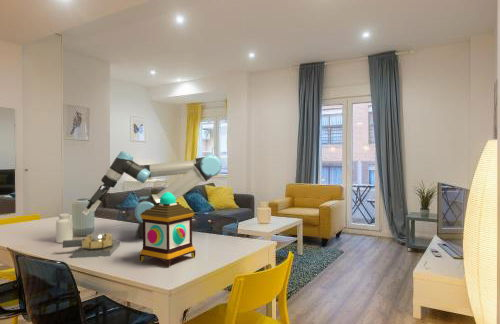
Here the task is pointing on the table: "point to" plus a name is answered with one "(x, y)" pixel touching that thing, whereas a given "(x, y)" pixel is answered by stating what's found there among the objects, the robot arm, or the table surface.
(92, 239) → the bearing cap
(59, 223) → the pill bottle
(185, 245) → the decorative lantern
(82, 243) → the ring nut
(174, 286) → the table surface
